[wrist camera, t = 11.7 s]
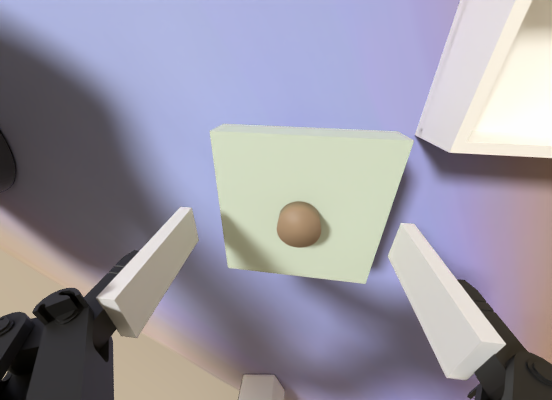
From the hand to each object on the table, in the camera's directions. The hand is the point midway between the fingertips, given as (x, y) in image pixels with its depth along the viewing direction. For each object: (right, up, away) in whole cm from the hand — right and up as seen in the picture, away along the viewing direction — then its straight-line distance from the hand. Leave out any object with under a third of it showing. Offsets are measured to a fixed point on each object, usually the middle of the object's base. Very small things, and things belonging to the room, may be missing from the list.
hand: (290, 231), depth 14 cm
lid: (+1, +2, +4) cm, 4 cm away
